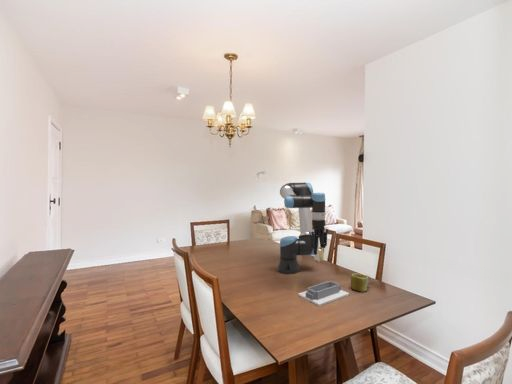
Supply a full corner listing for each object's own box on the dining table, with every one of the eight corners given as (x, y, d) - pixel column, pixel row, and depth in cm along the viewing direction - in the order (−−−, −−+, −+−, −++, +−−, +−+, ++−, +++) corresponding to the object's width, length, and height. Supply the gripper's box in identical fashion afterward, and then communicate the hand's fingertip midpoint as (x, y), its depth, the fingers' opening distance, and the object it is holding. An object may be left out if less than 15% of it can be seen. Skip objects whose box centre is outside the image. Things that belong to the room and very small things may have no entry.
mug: (357, 291, 153) (357, 272, 156) (346, 290, 162) (346, 272, 165) (376, 293, 155) (376, 274, 158) (365, 292, 165) (365, 274, 168)
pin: (314, 262, 163) (314, 248, 163) (319, 260, 165) (318, 247, 165) (319, 263, 160) (319, 249, 159) (324, 262, 162) (324, 248, 162)
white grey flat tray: (298, 295, 153) (298, 286, 153) (327, 285, 166) (327, 277, 166) (319, 306, 140) (319, 296, 140) (349, 295, 153) (349, 286, 152)
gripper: (313, 221, 154) (313, 263, 155) (333, 218, 163) (333, 258, 164) (303, 219, 160) (304, 260, 161) (323, 217, 169) (324, 255, 170)
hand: (318, 259), depth 162 cm, fingers closed on pin, 3 cm apart
